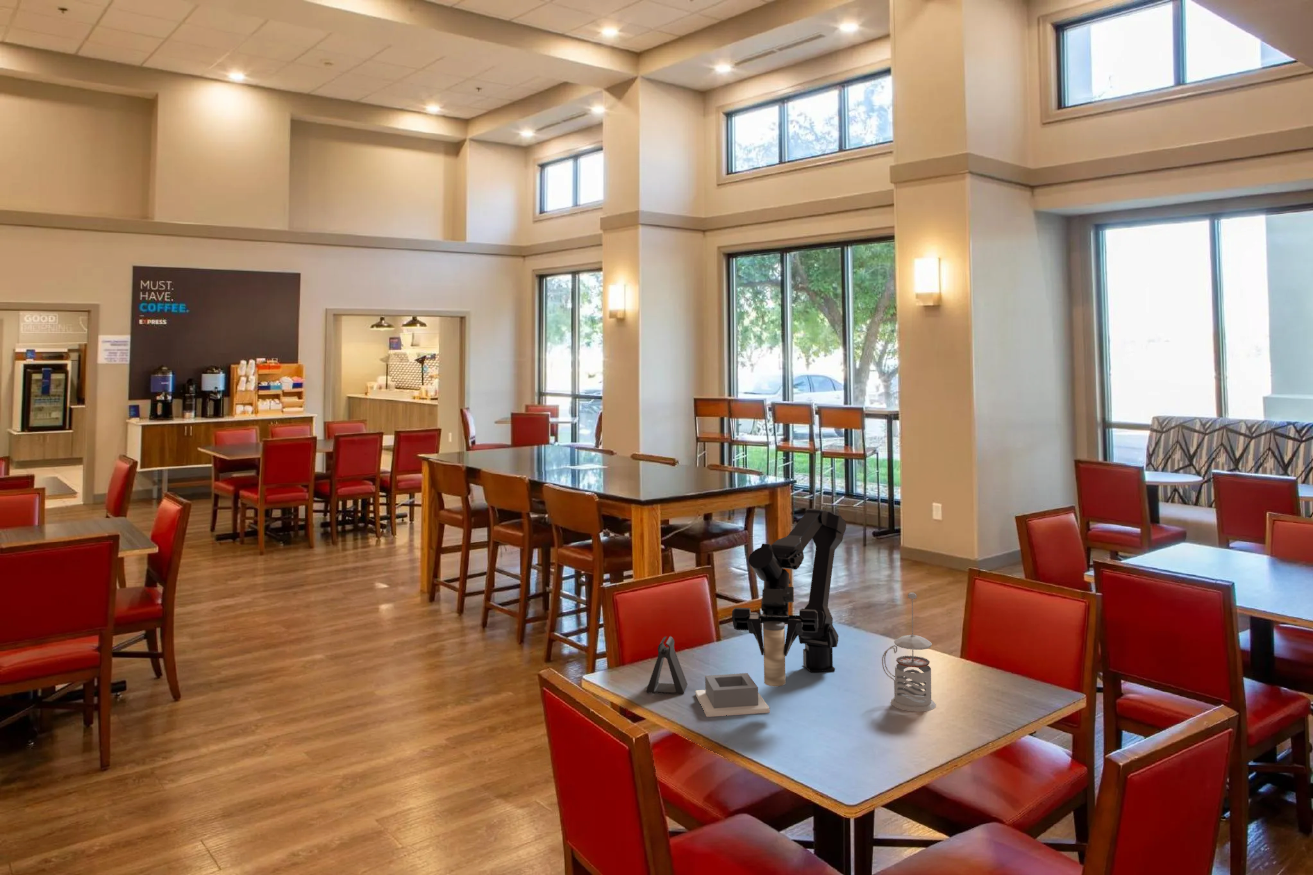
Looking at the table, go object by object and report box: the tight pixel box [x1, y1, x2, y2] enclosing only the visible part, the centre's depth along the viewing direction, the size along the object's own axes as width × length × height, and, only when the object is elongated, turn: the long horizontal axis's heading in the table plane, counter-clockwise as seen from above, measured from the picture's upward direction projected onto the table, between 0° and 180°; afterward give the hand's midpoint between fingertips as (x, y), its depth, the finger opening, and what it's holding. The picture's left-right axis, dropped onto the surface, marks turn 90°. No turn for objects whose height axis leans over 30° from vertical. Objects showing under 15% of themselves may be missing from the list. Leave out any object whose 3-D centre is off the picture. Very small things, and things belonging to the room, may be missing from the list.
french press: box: [881, 592, 937, 712], centre depth 189 cm, size 10×12×25 cm
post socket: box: [694, 672, 771, 718], centre depth 191 cm, size 14×14×5 cm
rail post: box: [762, 621, 786, 687], centre depth 184 cm, size 5×5×13 cm
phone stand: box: [646, 635, 688, 695], centre depth 201 cm, size 9×6×12 cm, turn 79°
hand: (773, 654), depth 183 cm, fingers closed on rail post, 5 cm apart
